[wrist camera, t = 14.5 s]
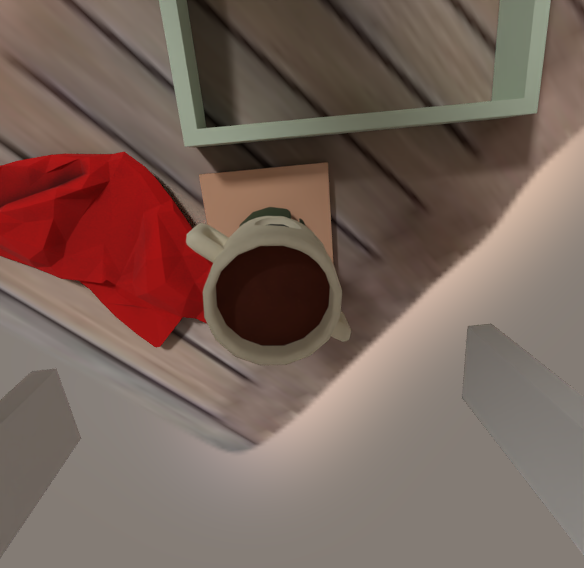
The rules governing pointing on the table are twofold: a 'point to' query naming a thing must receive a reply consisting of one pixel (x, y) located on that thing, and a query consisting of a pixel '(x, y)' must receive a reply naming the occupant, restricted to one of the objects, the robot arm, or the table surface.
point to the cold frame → (505, 103)
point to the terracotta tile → (270, 197)
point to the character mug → (270, 288)
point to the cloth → (105, 236)
